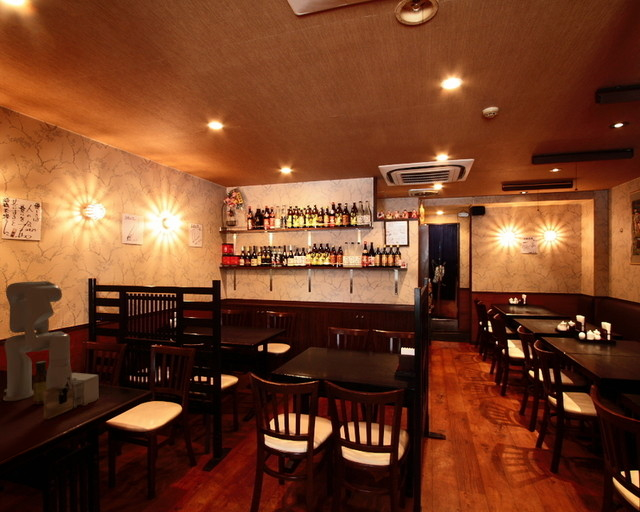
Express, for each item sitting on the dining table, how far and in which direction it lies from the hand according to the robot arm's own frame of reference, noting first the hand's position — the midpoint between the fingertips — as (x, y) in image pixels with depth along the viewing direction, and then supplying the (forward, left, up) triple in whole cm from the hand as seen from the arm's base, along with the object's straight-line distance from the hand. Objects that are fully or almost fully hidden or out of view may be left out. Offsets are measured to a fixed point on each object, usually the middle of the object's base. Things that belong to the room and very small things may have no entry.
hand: (59, 402), depth 158 cm
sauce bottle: (-22, +8, -6) cm, 24 cm away
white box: (-6, +12, -5) cm, 15 cm away
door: (0, +2, -5) cm, 5 cm away
